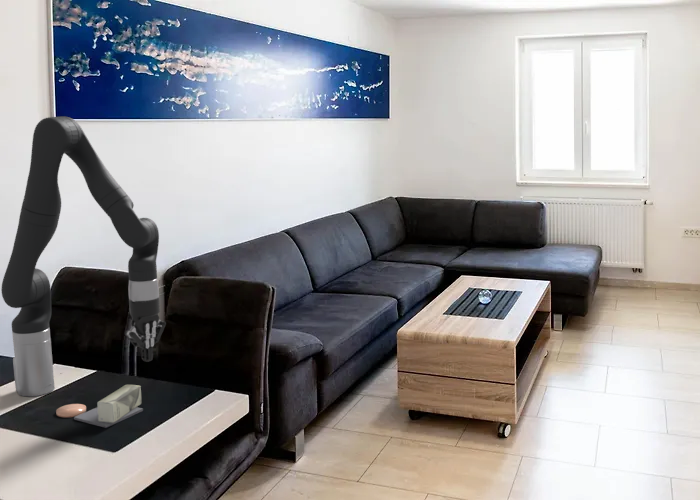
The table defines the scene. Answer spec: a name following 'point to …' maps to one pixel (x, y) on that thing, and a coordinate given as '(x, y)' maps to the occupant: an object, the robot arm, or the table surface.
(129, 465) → the table surface
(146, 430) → the table surface
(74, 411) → the glossy peach dome
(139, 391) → the box
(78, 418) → the mat
